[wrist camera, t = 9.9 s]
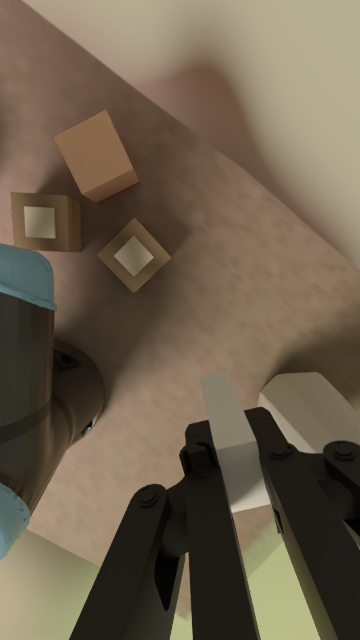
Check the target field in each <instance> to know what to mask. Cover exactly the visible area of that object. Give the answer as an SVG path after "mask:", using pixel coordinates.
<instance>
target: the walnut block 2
mask: <svg viewBox="0 0 360 640" xmlns="http://www.w3.org/2000/svg"><path fill="white" fill-rule="evenodd" d="M97 256H98V257H99V258H100V259H101V260H102V261H103V262H104V263H105V264H106V265H107V266H108V268H109V269H110V270H111V271H112V272H113V273H114V274H115V275H116V276H117V277H118V278H119V279H120V280H121V281H122V282H123V283H124V284H125V285H126V286H127V287H128V288H129V289H130V290H131V291H132V292H133V293H135V292H136V291H137V290H138V289H139V288H140V287H141V286H142V285H143V284H144V283H146V282H147V281H148V280H149V279H150V278H151V277H152V276H153V275H154V274H155V273H156V272H157V271H158V270H159V269H160V268H161V267H162V266H163V265H164V264H165V263H166V262H168V261H169V260H170V259H171V258H172V257H171V256H170V255H169V254H168V253H167V252H166V250H165V249H164V248H163V247H162V246H161V245H160V244H159V243H158V242H157V241H156V240H155V238H154V237H153V236H152V235H151V234H150V233H149V232H148V231H147V230H146V229H145V228H144V226H143V225H142V224H141V223H140V222H139V221H138V220H137V219H136V218H133V219H132V220H131V221H130V222H129V223H128V224H127V225H126V226H125V227H124V228H123V229H122V230H121V231H120V232H119V233H118V234H117V235H116V236H115V237H114V238H113V239H112V240H111V241H110V242H109V243H108V244H107V245H106V246H105V247H104V248H103V249H102V250H101V251H100V252H99V253H98V254H97Z"/></svg>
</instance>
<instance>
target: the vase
mask: <svg viewBox="0 0 360 640" xmlns="http://www.w3.org/2000/svg"><path fill="white" fill-rule="evenodd" d="M257 401H258V407H261V406H262V407H264V408H265V409H267V410H269V411H270V413H271V414H272V416H273V418H274V419H275V421H276V423H277V424H278V426H279V428H280V429H281V431H282V433H283V434H284V436H285V438H286V439H287V441H288V443H290V444H293V445H294V446H295V447H296V448H297V449H298V451H301V452H305V453H323V448H324V446H325V445H327V444H328V443H330V442H333V441H337V440H345V441H350V442H354V443H356V444H358V445H360V414H359V413H358V412H357V411H356V410H355V409H354V408H353V407H352V406H351V405H350V404H349V403H348V402H347V401H346V399H345V398H344V397H343V396H342V395H341V394H340V393H339V392H338V391H337V390H336V389H335V388H334V387H333V386H332V384H331V383H330V382H329V381H328V380H327V379H326V378H325V377H324V376H323V375H322V374H320V373H318V372H304V373H282V374H278V375H276V376H274V377H273V378H272V379H271V380H270V382H269V383H268V384H267V385H266V386H265V387H264V388H263V389H262V390H261V391H260V393H259V395H258V400H257ZM357 546H358V545H357ZM358 547H359V546H358ZM359 549H360V547H359Z"/></svg>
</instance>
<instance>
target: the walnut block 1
mask: <svg viewBox="0 0 360 640" xmlns="http://www.w3.org/2000/svg"><path fill="white" fill-rule="evenodd" d="M11 201H12V217H13V232H14V246H15V247H20V248H24V249H28V250H40V251H61V252H81V207H80V202H78V201H77V200H75V199H73V198H71V197H69V196H67V195H52V194H34V193H15V192H11Z"/></svg>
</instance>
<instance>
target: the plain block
mask: <svg viewBox="0 0 360 640" xmlns="http://www.w3.org/2000/svg"><path fill="white" fill-rule="evenodd" d="M54 139H55V141H56V143H57V145H58V147H59V149H60V151H61V153H62V155H63V157H64V159H65V161H66V163H67V165H68V167H69V169H70V171H71V173H72V175H73V177H74V179H75V181H76V183H77V185H78V187H79V189H80V191H81V193H82V195H84V196H86V197H87V198H89V199H90V200H92V201H94V202H95V203H97V202H99V201H101V200H103V199H105V198H107V197H109V196H111V195H113V194H115V193H117V192H119V191H121V190H123V189H125V188H127V187H129V186H131V185H133V184H135V183H137V182H139V179H138V177H137V175H136V173H135V171H134V168H133V166H132V164H131V162H130V160H129V157H128V155H127V153H126V151H125V149H124V146H123V144H122V142H121V140H120V138H119V135H118V133H117V131H116V129H115V127H114V125H113V123H112V121H111V119H110V117H109V114H108V112H107V110H104V111H102V112H100V113H98V114H96V115H94V116H92V117H91V118H89V119H87V120H85V121H83V122H81V123H79V124H77V125H75V126H73V127H71V128H69V129H68V130H66V131H64V132H62V133H60V134H58V135H56V136H54Z"/></svg>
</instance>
